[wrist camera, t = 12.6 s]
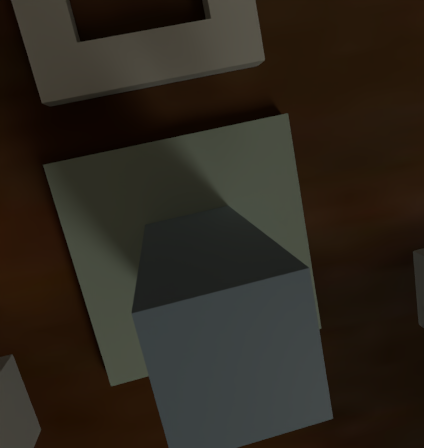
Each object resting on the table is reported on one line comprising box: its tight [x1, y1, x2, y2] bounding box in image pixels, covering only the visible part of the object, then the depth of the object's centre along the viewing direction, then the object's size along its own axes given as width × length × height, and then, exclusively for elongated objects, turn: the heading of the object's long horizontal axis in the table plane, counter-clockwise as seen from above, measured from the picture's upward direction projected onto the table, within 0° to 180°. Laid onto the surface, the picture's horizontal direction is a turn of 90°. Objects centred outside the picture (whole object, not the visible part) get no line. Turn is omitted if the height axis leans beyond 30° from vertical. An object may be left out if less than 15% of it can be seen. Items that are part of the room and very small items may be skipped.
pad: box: [43, 113, 321, 386], centre depth 23 cm, size 14×14×1 cm
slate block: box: [131, 206, 333, 448], centre depth 16 cm, size 5×5×12 cm
